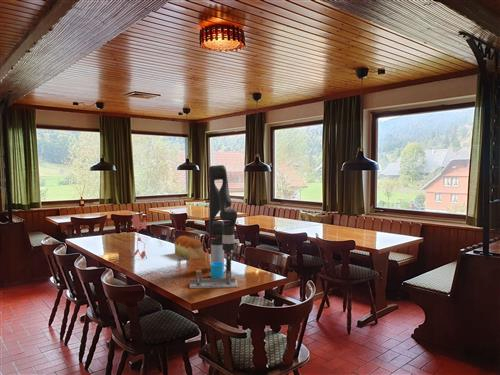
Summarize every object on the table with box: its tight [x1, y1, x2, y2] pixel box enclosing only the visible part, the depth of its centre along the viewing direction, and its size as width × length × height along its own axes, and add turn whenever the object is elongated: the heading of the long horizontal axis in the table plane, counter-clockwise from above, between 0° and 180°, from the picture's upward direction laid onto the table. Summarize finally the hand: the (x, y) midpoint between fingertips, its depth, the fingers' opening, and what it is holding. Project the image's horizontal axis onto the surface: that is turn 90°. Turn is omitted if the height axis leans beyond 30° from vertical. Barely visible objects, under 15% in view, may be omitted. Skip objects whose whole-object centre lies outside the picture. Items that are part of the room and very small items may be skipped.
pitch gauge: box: [189, 269, 239, 289], centre depth 227 cm, size 10×28×8 cm, turn 96°
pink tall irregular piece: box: [126, 213, 148, 262], centre depth 292 cm, size 15×26×35 cm, turn 45°
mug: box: [210, 262, 226, 278], centre depth 247 cm, size 12×8×8 cm
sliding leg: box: [225, 262, 232, 282], centre depth 228 cm, size 8×3×10 cm, turn 6°
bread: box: [174, 235, 204, 260], centre depth 304 cm, size 25×12×15 cm, turn 37°
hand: (228, 270), depth 230 cm, fingers closed on sliding leg, 3 cm apart
